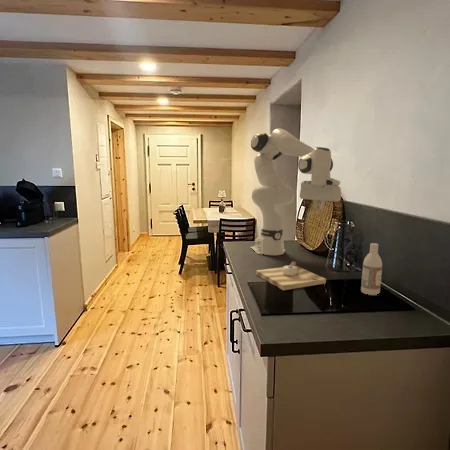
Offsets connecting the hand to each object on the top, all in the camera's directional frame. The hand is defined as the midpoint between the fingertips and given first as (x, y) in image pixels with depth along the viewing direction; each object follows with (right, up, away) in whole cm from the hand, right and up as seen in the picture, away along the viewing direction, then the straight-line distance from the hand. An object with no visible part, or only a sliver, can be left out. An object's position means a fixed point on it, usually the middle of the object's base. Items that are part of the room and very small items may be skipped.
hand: (318, 209), depth 162 cm
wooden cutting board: (-17, -32, -15) cm, 39 cm away
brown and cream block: (-16, -29, -13) cm, 35 cm away
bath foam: (+12, -35, -31) cm, 48 cm away
